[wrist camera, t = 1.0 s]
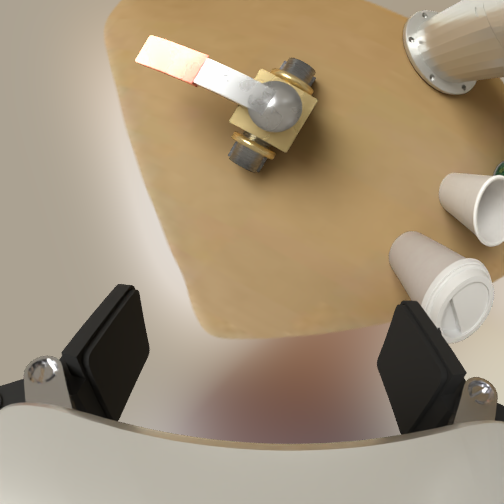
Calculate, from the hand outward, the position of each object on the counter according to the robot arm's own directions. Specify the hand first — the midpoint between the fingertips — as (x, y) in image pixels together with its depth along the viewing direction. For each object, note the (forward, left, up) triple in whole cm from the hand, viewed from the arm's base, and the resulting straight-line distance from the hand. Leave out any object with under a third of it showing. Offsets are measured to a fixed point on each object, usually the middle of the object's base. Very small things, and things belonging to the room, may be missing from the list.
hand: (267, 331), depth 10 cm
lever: (-8, -9, -18) cm, 22 cm away
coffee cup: (-3, +21, -26) cm, 34 cm away
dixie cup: (-14, +22, -26) cm, 37 cm away
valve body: (-8, -4, -26) cm, 28 cm away
